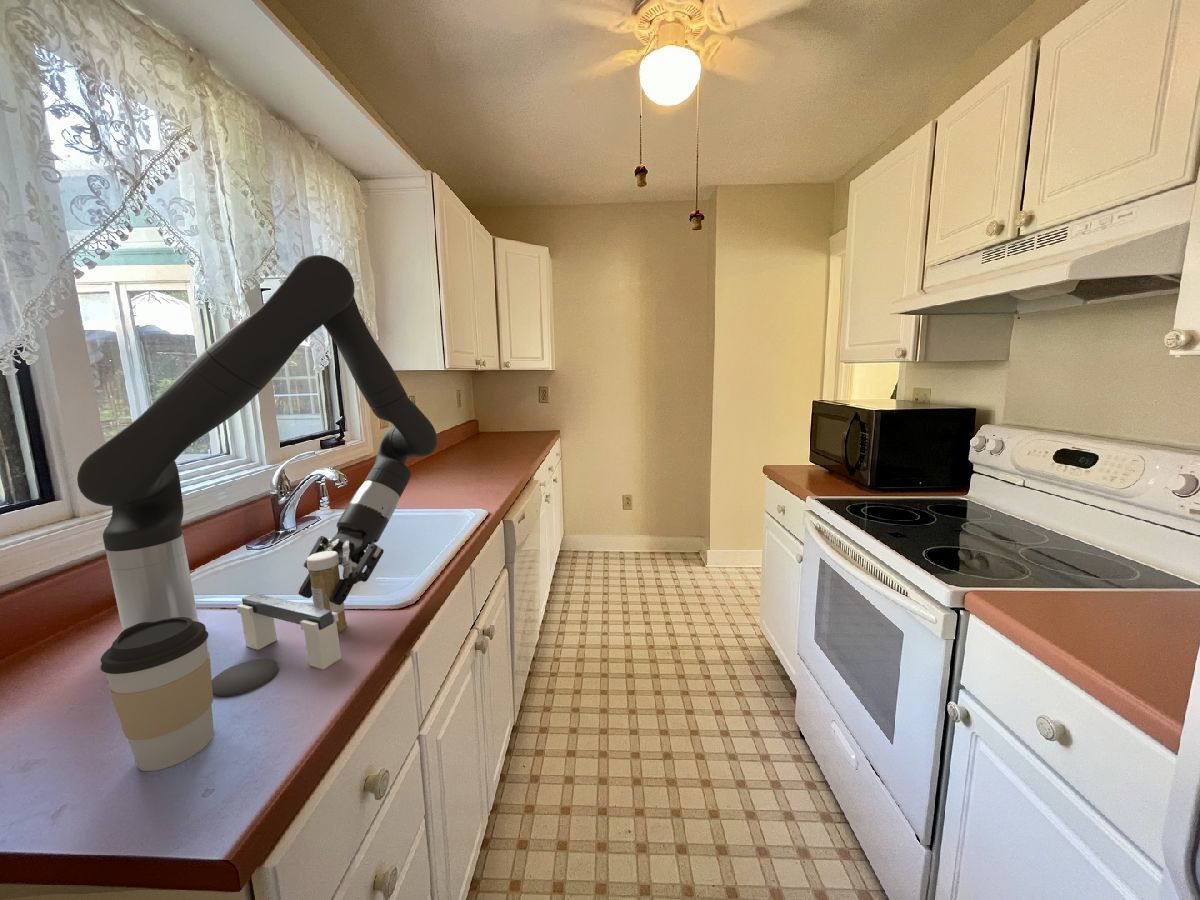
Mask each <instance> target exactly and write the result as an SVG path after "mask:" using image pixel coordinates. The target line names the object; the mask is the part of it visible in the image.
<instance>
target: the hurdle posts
mask: <svg viewBox="0 0 1200 900" xmlns="http://www.w3.org/2000/svg"><path fill="white" fill-rule="evenodd" d="M236 611H237V614H240V616H241V623H242V628H243V629H242V630H243V634H244V641H245V645H246V647H247V648H250V649H254V650H257V651H258V650H261V649H263V648H265V647H267V646H268V645H270V644H272V643H274V642H276V641H278V638H277V637H278V636H277V633H276V632H277V630H276V624H275V618H272V617H268V616H265V615H261V614H257V613H253V607H251V606H247V605H243V603H242V604H241V603H240V604H237V605H236ZM332 617H333V624H331V625H329V626H327V627H326V628H324V629H322V630H319V627H318V623H315V622H311V621H307V620H303V621H301V622H300V624H301V625H300V624H299V625H300V629H301V630H302V631H303V632H304V639H305V645H306V651H307V658H308V664H309V665H308V666H310V667H313V668H316V669H319V670H325V669H327V668H328V667H329V666H331V665H333V664H335V663H336V662H338V661H340V660H341V659H342V654H341V647H340V641H339V639H340V638H339V633H338V631H337V623H336V622H337V621H338V620H339V619H338V613H336V612H332Z"/></svg>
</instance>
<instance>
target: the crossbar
mask: <svg viewBox="0 0 1200 900" xmlns="http://www.w3.org/2000/svg"><path fill="white" fill-rule="evenodd" d="M241 602H242V604H243V605H247V606H251V607H253V613H257V614H261V615H265V616H268V617H272V618H274V619H277V620H279V621H284V622H289V623H292V624H296V625H300V626H301V624H300V622H301V621H303V620H307V621H311V622H315V623H318V627H319V630H322V629H324V628H326V627H327V626H329V625H331V624H333V617H332V611H330V610H326V609H322V608H317V607H314V605H313V606H312V605H308V604H303V603H301V602H300V603H299V602H295V601H292V600H291V601H290V600H287V599H282V598H277V597H273V596H270V595H269V596H268V595H264V594H260V593H255V592H254V593H252V594H249V595H246V596H245V597H242V598H241Z"/></svg>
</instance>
